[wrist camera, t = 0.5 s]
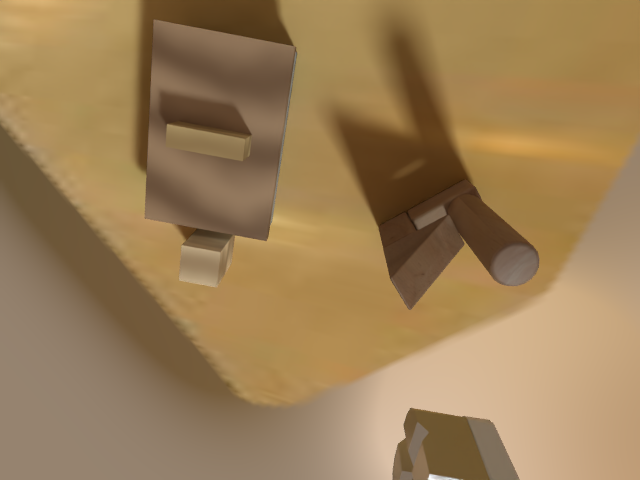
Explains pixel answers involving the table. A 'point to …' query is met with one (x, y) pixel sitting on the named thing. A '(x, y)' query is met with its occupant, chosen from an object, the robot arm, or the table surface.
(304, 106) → the table surface
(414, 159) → the table surface
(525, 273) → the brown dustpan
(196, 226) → the lid
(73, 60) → the table surface
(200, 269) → the beige block
